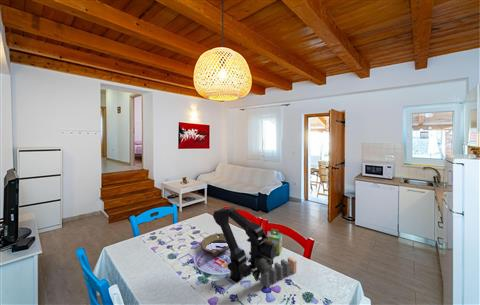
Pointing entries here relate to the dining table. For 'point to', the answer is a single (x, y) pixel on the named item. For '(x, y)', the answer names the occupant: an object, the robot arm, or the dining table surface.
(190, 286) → the dining table surface
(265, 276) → the domino
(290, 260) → the tan rectangular block
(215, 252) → the olive oval ring
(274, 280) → the domino
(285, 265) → the domino
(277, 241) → the chalk box
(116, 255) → the dining table surface
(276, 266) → the domino
